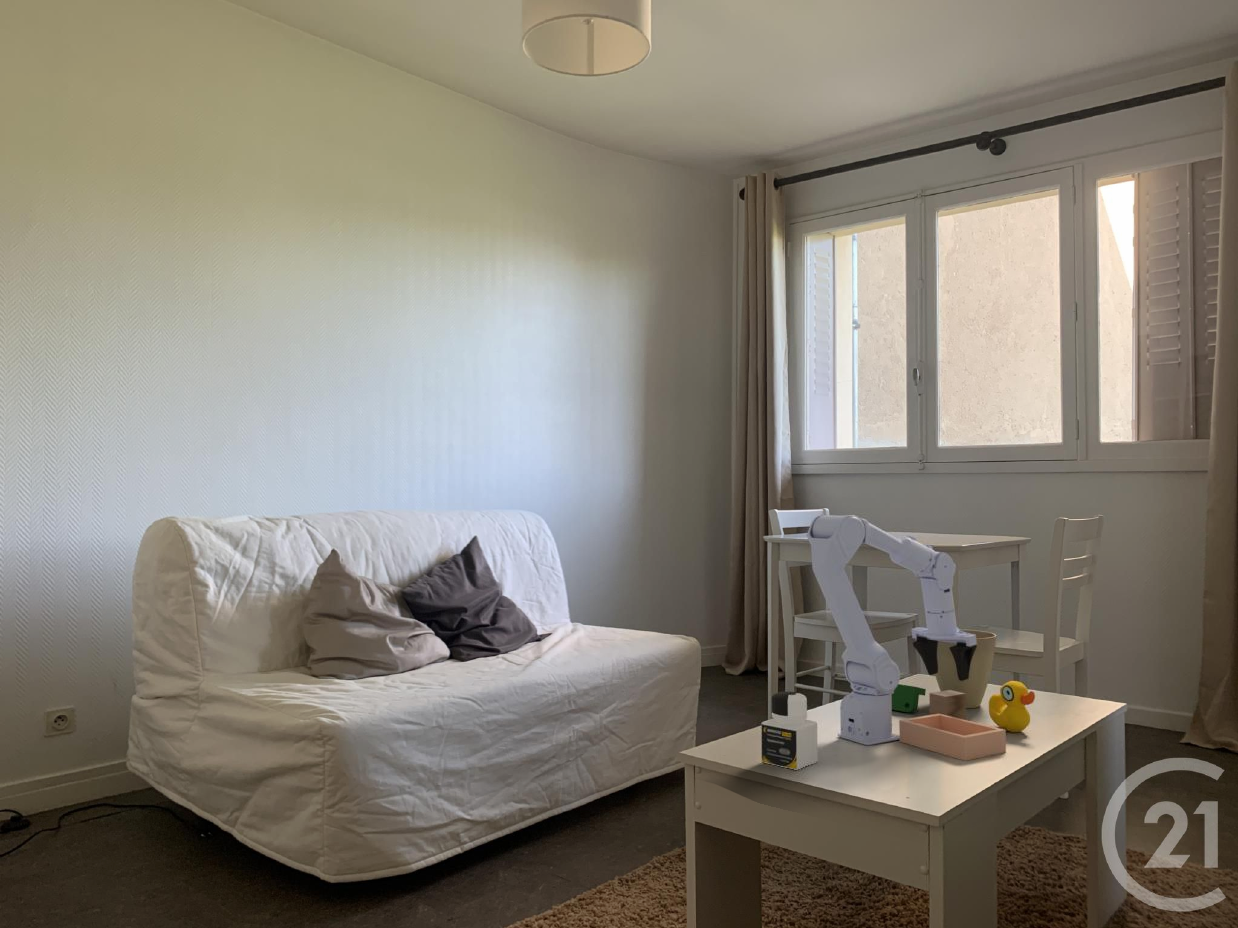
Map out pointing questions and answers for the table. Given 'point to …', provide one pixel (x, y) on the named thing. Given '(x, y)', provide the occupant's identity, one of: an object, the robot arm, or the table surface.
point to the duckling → (1011, 706)
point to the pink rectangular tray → (953, 736)
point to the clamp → (906, 698)
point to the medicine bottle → (789, 733)
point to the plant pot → (977, 672)
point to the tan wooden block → (948, 703)
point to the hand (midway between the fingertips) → (948, 676)
